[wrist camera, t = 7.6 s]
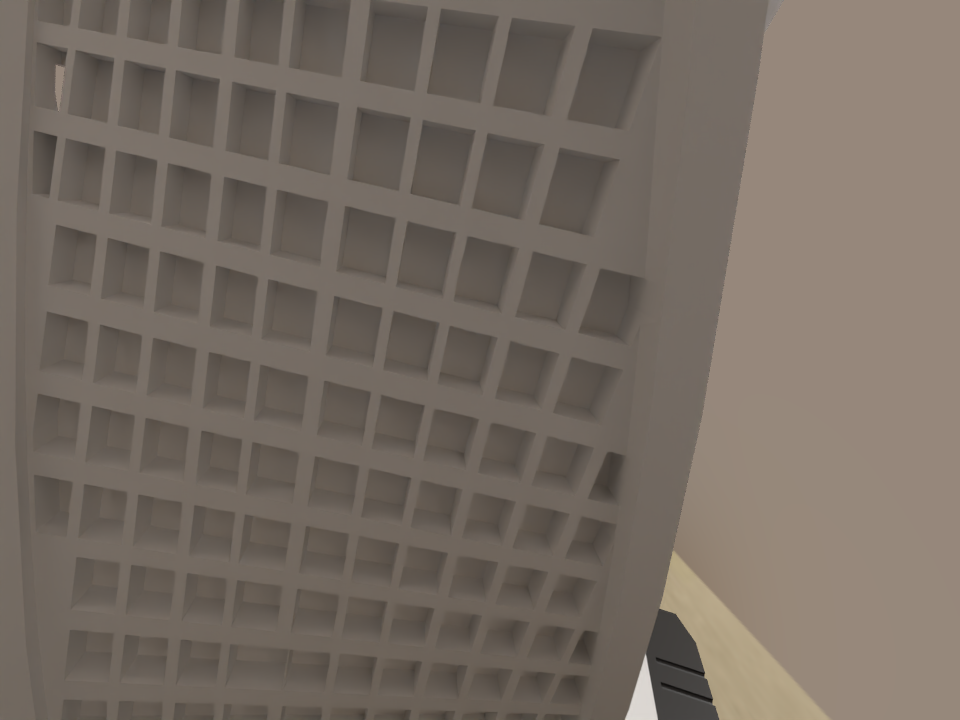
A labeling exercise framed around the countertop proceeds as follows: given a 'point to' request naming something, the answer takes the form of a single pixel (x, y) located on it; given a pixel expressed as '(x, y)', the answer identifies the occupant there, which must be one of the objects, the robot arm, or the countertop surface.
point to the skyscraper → (354, 348)
